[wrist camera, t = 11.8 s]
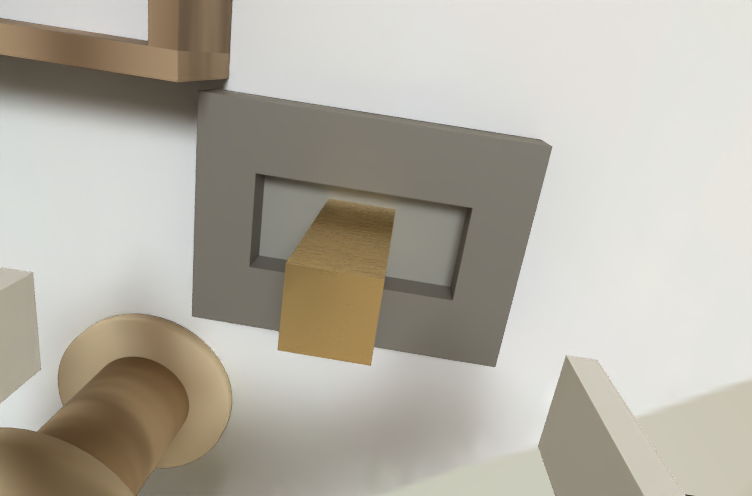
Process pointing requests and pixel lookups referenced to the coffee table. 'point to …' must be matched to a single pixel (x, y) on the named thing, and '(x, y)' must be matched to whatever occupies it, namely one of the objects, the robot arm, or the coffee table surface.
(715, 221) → the coffee table surface
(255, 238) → the board
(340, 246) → the block
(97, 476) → the wooden spool
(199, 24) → the caddy
